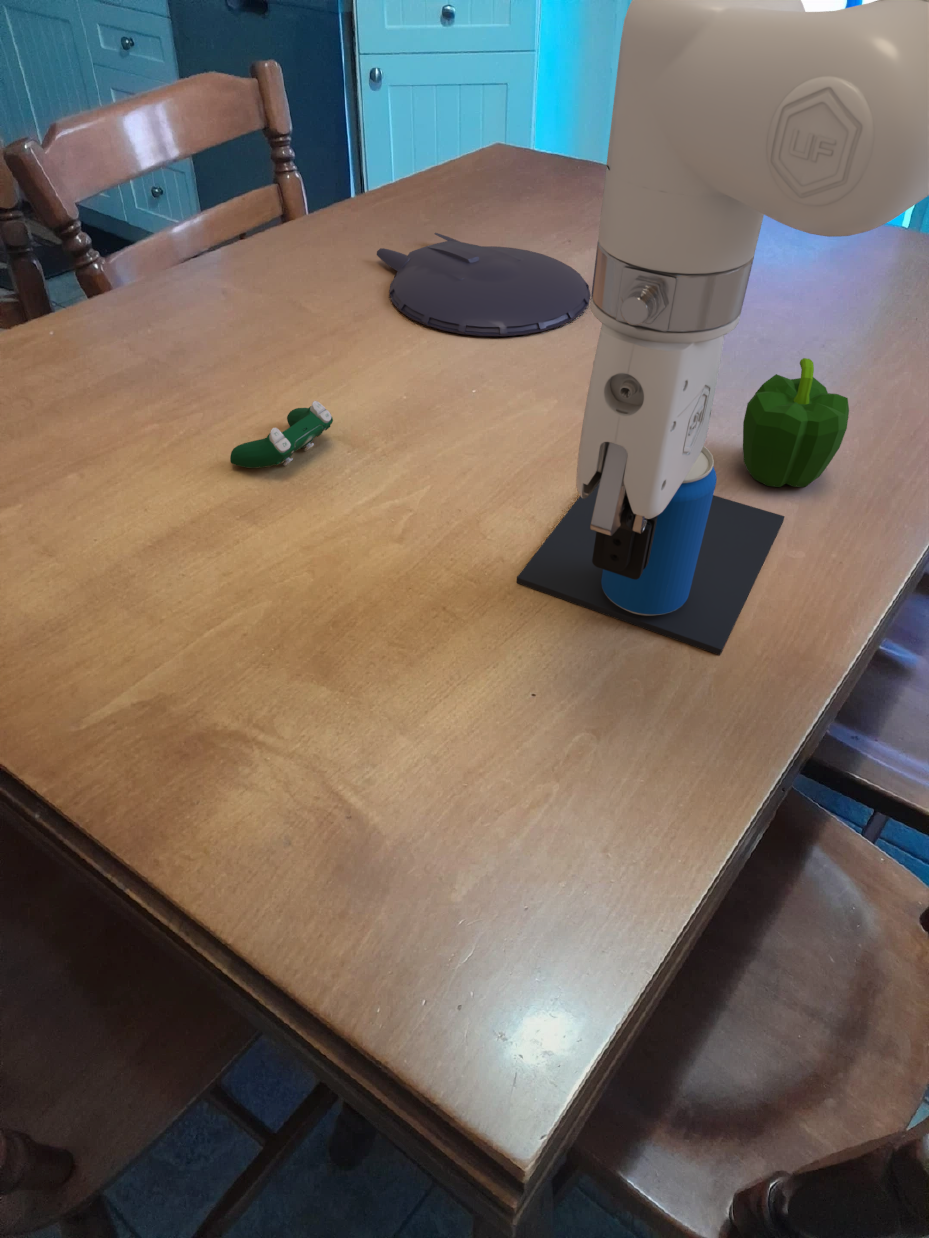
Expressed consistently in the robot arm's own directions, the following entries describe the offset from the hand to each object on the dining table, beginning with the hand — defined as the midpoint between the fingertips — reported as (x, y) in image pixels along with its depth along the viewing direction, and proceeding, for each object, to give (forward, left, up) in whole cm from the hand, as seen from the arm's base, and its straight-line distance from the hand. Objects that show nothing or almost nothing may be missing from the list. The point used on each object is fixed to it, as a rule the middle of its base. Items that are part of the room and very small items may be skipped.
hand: (619, 565), depth 57 cm
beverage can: (0, -7, -8) cm, 11 cm away
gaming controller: (+35, -10, -9) cm, 37 cm away
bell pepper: (-5, -29, -9) cm, 31 cm away
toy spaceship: (+37, -51, -9) cm, 64 cm away
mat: (+1, -13, -8) cm, 16 cm away
